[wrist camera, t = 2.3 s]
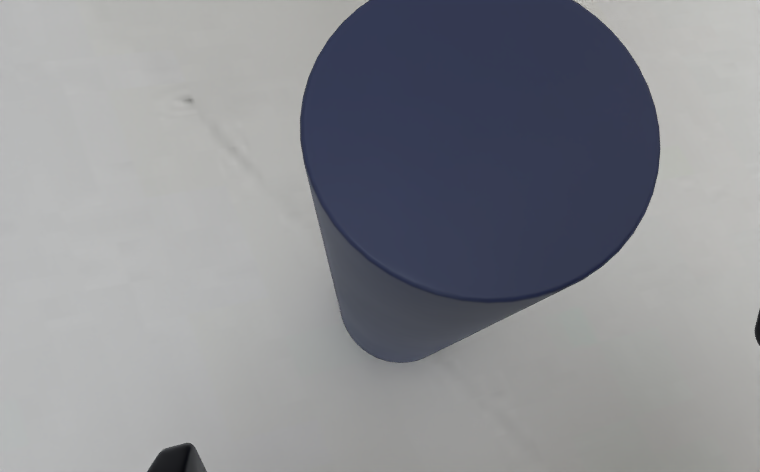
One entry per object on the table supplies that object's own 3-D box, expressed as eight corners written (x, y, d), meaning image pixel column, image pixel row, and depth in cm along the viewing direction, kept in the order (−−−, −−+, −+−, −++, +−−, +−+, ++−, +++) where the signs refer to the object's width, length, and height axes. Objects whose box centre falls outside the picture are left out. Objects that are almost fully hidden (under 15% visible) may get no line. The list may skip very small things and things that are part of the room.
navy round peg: (482, 324, 19) (735, 191, 6) (376, 385, 18) (416, 376, 5) (421, 222, 19) (534, -80, 7) (318, 277, 19) (236, 54, 6)
